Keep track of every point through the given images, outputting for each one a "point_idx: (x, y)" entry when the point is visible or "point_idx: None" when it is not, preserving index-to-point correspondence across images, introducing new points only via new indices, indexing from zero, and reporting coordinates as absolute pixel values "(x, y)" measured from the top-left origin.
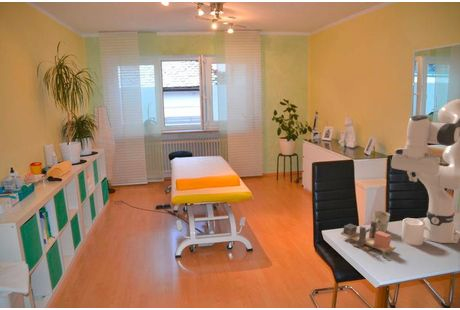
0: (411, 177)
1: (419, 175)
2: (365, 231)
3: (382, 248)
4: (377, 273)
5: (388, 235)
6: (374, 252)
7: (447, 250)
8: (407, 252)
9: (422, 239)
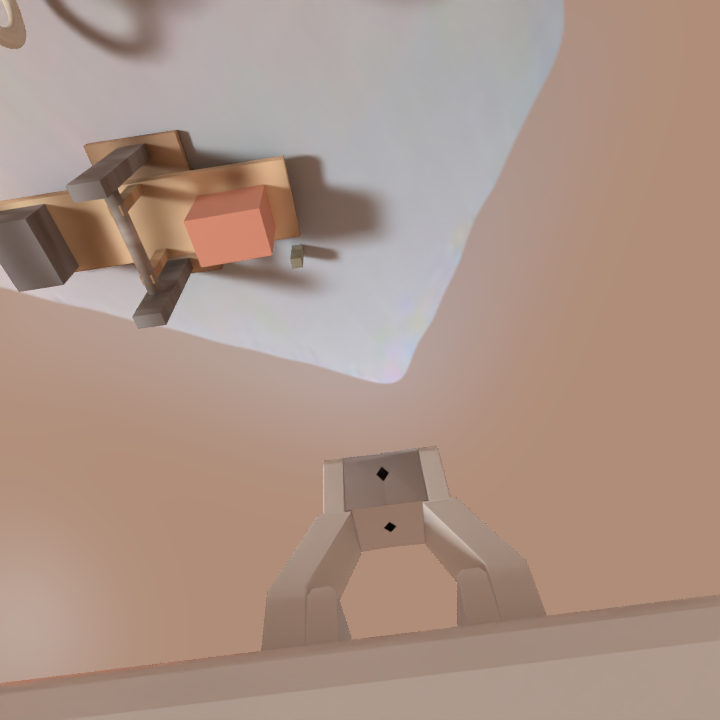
0: (374, 549)
1: (501, 540)
2: (154, 282)
3: None
4: (367, 362)
5: (259, 228)
6: None
7: None
8: (325, 97)
9: None
